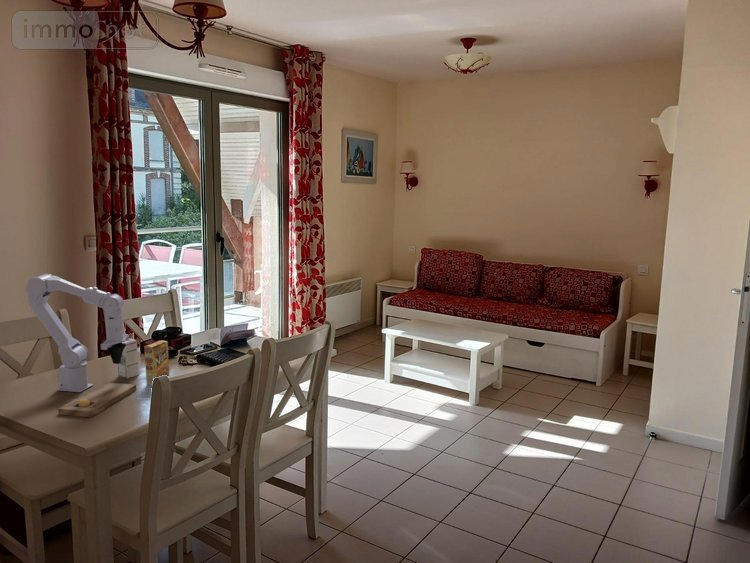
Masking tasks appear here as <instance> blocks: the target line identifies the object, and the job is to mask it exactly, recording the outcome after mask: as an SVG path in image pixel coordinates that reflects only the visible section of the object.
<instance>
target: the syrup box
mask: <svg viewBox="0 0 750 563" xmlns="http://www.w3.org/2000/svg"><path fill="white" fill-rule="evenodd" d="M122 343H125V344H126V346H125V348H124V350H123V353H122V357H121V362H120V363H119V364H117V372H118V377H121V376H122V378H124V377H125V378H124V379H130V377H131V378H134V377H136V376H139V375H140V371H139V370H140V367H139V356H138V341H137V339H133V338H129V340H126V342H122Z"/></svg>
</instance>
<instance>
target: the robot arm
mask: <svg viewBox="0 0 750 563" xmlns="http://www.w3.org/2000/svg"><path fill="white" fill-rule="evenodd" d="M24 289H25V291H26V293H27V300H28V306H29V307H30V309H31V311H32V312H33V313H34V314H35V315H36V317H37V318H38V320H39V321H40V322H41V324H42V325H43V327H44V328H45V330H46V331H47V332H48V334H49V335H50V336H51V339H53V341H54V342H55V344H57V346H58V349H57V350H58V351H57V352H58V354H59V356H60V360H61V363H62V364H61V365H60V366H59V367H58V370H57V380H58V381H57V382H58V388H57V391H62V392H75V393H81V392H84V391H85V390H87V389H89V388H91V387H93V386H94V385H95V384H94V383H89V379H88V377H89V375H88V364H87V363H88V362H87V358H88V357H89V349H88V348H87V347H86V346H85V345H84V344H83V343H81V342H80V341H79V339H76V338H74V337H73V336H72V335H71V333H70V331H68V329H67V328H66V326H65V325H64V324H63V322H62V321H61V319H60V318H59V316H58V315H57V314H56V313H55V311H54V310H53V308H52V307H51V306H50V304H49V303H48V300H49V297H50V295H51V293H52V292H57V291H61V292H64V293H67V294H71V295H73V296H77V297H81V299H82V300H83V302H84V303H87V304H90V305H93V306H96V307H98V308H100V309H101V308H102V310H103V311H104V313H105V314H104V315H105V316H104V317H105V334H106V340H105V341H103V343H100V350H103V351H107V353H109V356H110V359H111V361H112V363H113V365H118V364H119V363H120V362H121V357H122V353H123V350H124V348H125V346H126V344H125V343H122V342H126V340H129V339H130V334H127V333H125V334H124V324H123V323H124V321H123V320H124V319H123V309H122V307H123V306H124V304H125V302H124V299H123V297H122V296H121V295H119V294H118V293H113V294H111V292H110V291H109V292H106V291H103V290H101V289H99V288H98V287H96V286H93V287H92V286H90V287H87V288H85V287H82V286H80V285H78V284H75V283H73V282H71V281H68V280H66V279H63V278H61V277H59V276H57V275H52V274H51V273H42V274H41V275H38V276H35V277H31V278H30V279H29V280H28V281H27V283H26V286H25V288H24Z"/></svg>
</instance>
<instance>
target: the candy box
mask: <svg viewBox="0 0 750 563" xmlns="http://www.w3.org/2000/svg"><path fill="white" fill-rule="evenodd" d="M168 346H169V343H168V340H162V339H160V340H157V341H153V342H152V343H150V344H146V345H144V346H143V347H144V348H143V349H144V360H145V362H144V363H145V379H146V385H150V386H152V385H151V384H152V381H153V378H155V377H159V376H162V375H167V376H169V377H170V365H169V364H170V363H169V362H170V361H169V347H168Z"/></svg>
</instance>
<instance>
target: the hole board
mask: <svg viewBox="0 0 750 563" xmlns="http://www.w3.org/2000/svg"><path fill="white" fill-rule="evenodd" d="M135 391H137V384H130V383H120V382H107V381H106V382H105V383H102V384H101V385H100V386H97V387H96V388H93V389H91V390H90V391H88V392H86V393H84V394H82V395H80V396H79V397H77V398H75V399H73V400H71V401H70V402H67V403H66V404H64V405H62V406H60V407H59V408H57V411H58V412H57V413H58V414H57V415H60V416H61V415H63V416H64V415H65V416H73V417H84V418H93V417H94V416H96V415H98V414H99V413H101V412H102V411H104V410H106V409H107V408H109V407H111V406H112V405H114V404H115V403H117V402H119V401H120V400H122V399H124V398H125V397H127V396H129V395H130V394H132V393H134V392H135ZM82 399H87V400H89V402H90V406H88V407H87V408H82V407H79V402H80V401H81V400H82Z"/></svg>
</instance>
